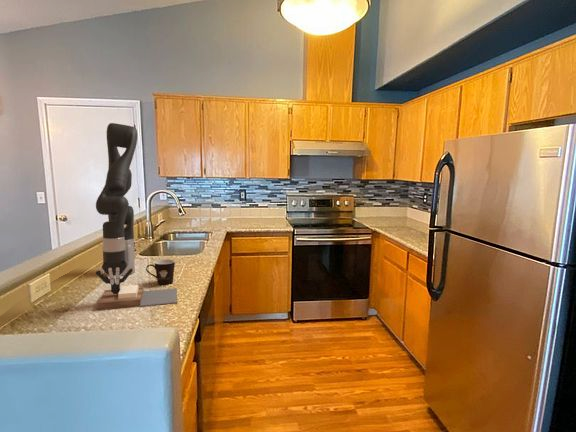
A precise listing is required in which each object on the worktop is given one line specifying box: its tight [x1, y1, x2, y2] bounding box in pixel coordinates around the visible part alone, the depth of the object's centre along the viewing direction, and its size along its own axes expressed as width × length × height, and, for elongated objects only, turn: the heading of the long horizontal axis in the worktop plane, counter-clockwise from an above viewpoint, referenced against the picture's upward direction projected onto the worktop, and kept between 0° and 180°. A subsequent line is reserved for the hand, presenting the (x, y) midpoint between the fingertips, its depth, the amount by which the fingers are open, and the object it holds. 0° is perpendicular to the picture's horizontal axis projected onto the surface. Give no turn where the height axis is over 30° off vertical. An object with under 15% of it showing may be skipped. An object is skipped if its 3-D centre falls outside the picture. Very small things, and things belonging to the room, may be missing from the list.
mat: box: [139, 287, 178, 308], centre depth 129 cm, size 16×13×1 cm
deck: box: [96, 286, 145, 311], centre depth 124 cm, size 14×14×2 cm
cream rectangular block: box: [118, 284, 139, 299], centre depth 124 cm, size 9×6×2 cm, turn 20°
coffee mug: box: [145, 258, 176, 287], centre depth 146 cm, size 12×9×10 cm
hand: (115, 293), depth 123 cm, fingers closed
